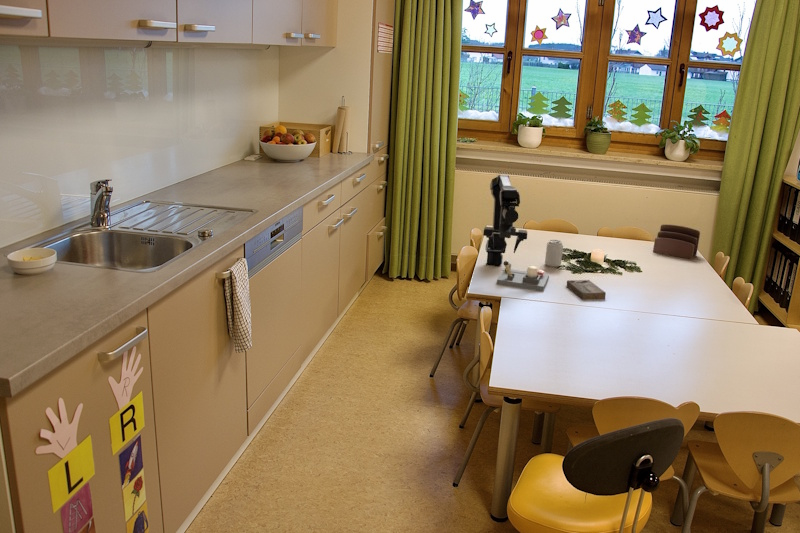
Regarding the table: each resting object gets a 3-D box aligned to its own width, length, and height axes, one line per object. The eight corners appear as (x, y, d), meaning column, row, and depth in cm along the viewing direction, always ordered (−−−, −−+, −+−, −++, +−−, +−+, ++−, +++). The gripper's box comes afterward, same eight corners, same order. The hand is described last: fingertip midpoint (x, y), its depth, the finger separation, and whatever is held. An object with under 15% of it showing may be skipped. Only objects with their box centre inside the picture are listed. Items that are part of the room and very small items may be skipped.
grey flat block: (582, 300, 311) (582, 293, 310) (565, 286, 327) (566, 279, 326) (606, 299, 313) (606, 292, 312) (588, 285, 329) (589, 279, 328)
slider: (504, 271, 334) (505, 265, 333) (506, 269, 337) (506, 263, 336) (509, 271, 334) (510, 265, 333) (510, 270, 336) (511, 264, 335)
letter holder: (657, 248, 395) (661, 222, 390) (696, 255, 385) (701, 229, 381) (652, 252, 387) (656, 225, 382) (692, 259, 377) (697, 232, 372)
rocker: (527, 271, 330) (528, 267, 330) (528, 268, 334) (529, 265, 333) (542, 276, 329) (543, 273, 328) (543, 274, 332) (544, 270, 332)
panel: (495, 283, 324) (496, 274, 322) (503, 272, 340) (504, 263, 339) (543, 291, 318) (544, 281, 317) (548, 278, 334) (549, 269, 333)
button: (525, 277, 322) (526, 268, 320) (527, 274, 326) (528, 265, 324) (536, 278, 320) (537, 269, 319) (537, 275, 324) (538, 267, 323)
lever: (507, 278, 325) (502, 262, 324) (508, 277, 327) (503, 260, 326) (512, 277, 325) (507, 261, 323) (513, 275, 327) (508, 259, 325)
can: (560, 268, 350) (563, 243, 347) (544, 266, 352) (547, 242, 348) (560, 263, 358) (563, 239, 354) (544, 262, 359) (547, 238, 355)
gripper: (484, 219, 316) (481, 254, 320) (528, 223, 313) (525, 259, 318) (485, 213, 326) (482, 248, 331) (528, 217, 324) (525, 252, 328)
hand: (503, 252), depth 327 cm, fingers open, 9 cm apart
